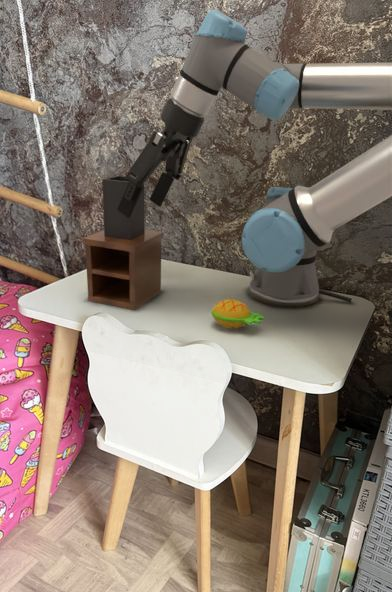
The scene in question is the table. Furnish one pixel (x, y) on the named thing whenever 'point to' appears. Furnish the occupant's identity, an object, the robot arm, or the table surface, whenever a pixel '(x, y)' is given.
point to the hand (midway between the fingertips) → (140, 208)
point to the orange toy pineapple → (234, 314)
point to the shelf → (123, 269)
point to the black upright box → (115, 220)
